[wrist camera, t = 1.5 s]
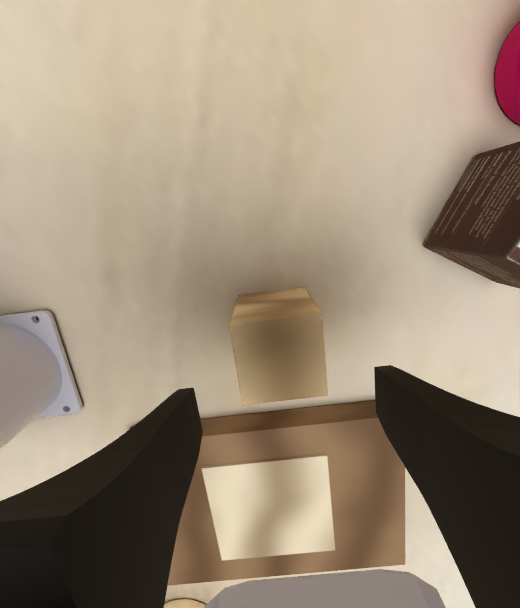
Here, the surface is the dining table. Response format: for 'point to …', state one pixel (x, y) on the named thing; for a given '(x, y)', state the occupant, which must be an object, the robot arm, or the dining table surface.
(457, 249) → the box
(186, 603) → the beer glass
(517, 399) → the dining table surface
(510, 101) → the pepper mill
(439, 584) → the dining table surface
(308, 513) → the walnut board
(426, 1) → the dining table surface
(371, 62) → the dining table surface
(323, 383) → the maple block
